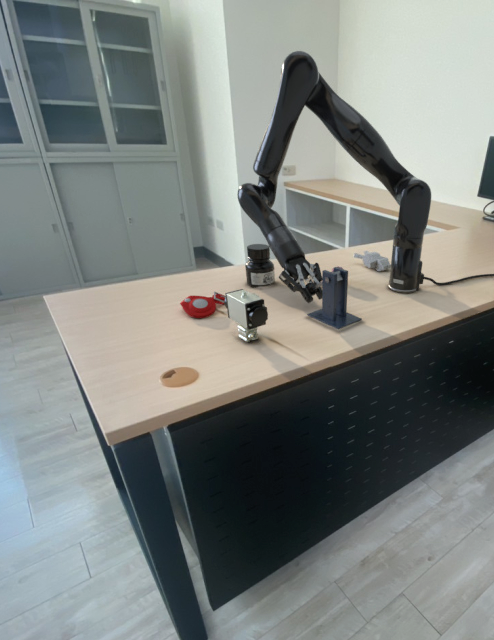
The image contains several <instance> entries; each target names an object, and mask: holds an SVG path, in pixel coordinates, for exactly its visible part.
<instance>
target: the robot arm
mask: <svg viewBox="0 0 494 640" xmlns="http://www.w3.org/2000/svg"><path fill="white" fill-rule="evenodd" d="M279 80H280V81H279V85H278V92H277V97H276V101H275V104H274V108H273V111H272V113H271V116H270V118H269V121H268V124H267V126H266V128H265V131H264V134H263V137H262V139H261V142H260V144H259V147H258V150H257V153H256V156H255V158H254V161H253V166H252V169H253V172H254V173H255V174H256V175H257V176H258V183H257V184H256V183H251V182H245V183H242V184H241V185H240V186H239V188H238V190H237V201H238V204H239V205H240V208H241V209H242V210H243V212H244V213H245V214H246V215H247V216H248V218H249V219H250V220H251V222H253V223H254V224H255V225H256V226H257V227H258V228H259V230H260V232H261V234H262V235H263V237H264V239H265V240H266V242H267V245H268V246H269V248H270V251H271V252H272V254H273V256H274V258H275V259H276V260H277V262H278V264H279V266H280V267H281V268H282V269H283V270H282V271H281V272H280V274H279V275H278V279H279V280H280V281H281V282H282V283H283V284H284V285H285V286H286V287H287V288H288V289H289V290H291V292H292V293H295V292H298V293H300V295H301V296H302V298H303V299H304V301H305V302H307V304H310V303H312V302H313V301H314V297H313V296H312V295H311V294H310V292H309V290H308V289H307V288H305V287H306V286H305V285H306V284H308V283H314V284H315V285H316V284H318V283H320V282H322V271H321V267H320V264H319V263H318V262H315V263H310V261H309V260H308V259H306V254H305V252H304V250H303V248H302V247H301V244H300V243H299V242H298V240H297V239H296V236H295V235H294V234H293V232H292V231H291V230H290V228H289V227H288V225H287V224H286V222H285V220H284V218H283V217H282V216H281V214H280V213H279V212H278V211H277V210H274V208H273V206H274V205H275V202H276V198H277V197H276V196H277V190H278V189H277V188H278V181H279V175H280V173H281V170H282V168H283V164H284V162H285V160H286V157H287V153H288V150H289V147H290V145H291V141H292V138H293V136H294V135H293V134H294V132H295V129H296V126H297V123H298V121H299V118H300V116H301V114H302V112H303V110H304V108H305V107H306V108H307V109H308V110H309V111H311V112H312V113H313V114H314V116H316V117H317V118H318V119H319V120H320V122H321V123H322V124H323V125H324V126H325V127H326V129H327V130H328V131H329V133H330V134H331V135H332V137H333V138H334V139H335V140H336V142H337V143H338V144H339V145H340V146H341V148H343V149H344V151H345V152H346V153H348V155H350V157H351V158H352V159H353V160H354V161H355V162H356V163H358V165H360V166H361V167H362V168H363V169H364V170H365V171H367V172H368V173H369V174H370V175H372V176H373V177H375V178H376V180H378V181H379V182H380V183H381V184H382V186H384V188H385V189H386V190H387V191H388V192H389V194H390V195H391V196H392V198H393V199H394V200H395V202H396V203H397V204H398V206H399V210H398V218H397V222H396V224H395V225H394V229H393V238H392V239H393V240H392V248H391V251H392V252H391V260H390V261H391V262H390V264H391V268H390V269H389V281H388V289H389V290H391V291H392V292H396V293H399V294H400V293H402V294H409V293H414V292H416V291H419V290H420V285H423V284H424V280H426V281H429V282H431V283H433V284H434V285H436V286H448V285H451V284H457V283H460V282H464V281H466V280H472V279H477V278H485V277H494V273H486V274H476V275H471V276H466V277H463V278H459V279H455V280H450V281H445V282H437V281H436V280H434V279H433V278H432V277H428V276H425V274H424V273H423V272H422V269H423V261H422V260H421V258H422V251H423V243H424V236H425V231H426V229H427V226H428V222H429V217H430V210H431V205H432V190H431V187H430V186H429V184H428V183H427V182H426V181H424V180H423V179H420V178H418V177H417V176H414V174H412V173H411V172H410V171H409V170H408V169H406V168H405V166H404V165H402V164H401V163H400V162H399V160H398V159H397V158H396V157H395V155H394V154H393V152H392V151H391V149H390V147H389V145H388V144H387V142H386V141H385V139H384V138H383V136H382V135H381V134H380V133H379V131H378V130H377V129H376V128H375V127H374V126H373V125H372V124H371V123H370V122H369V120H368V119H367V118H366V117H364V115H362V114H361V113H360V112H359V111H358V110H357V109H355V108H354V107H353V106H352V105H351V104H349V103H348V102H347V101H346V100H344V98H342V97H341V96H339V94H338V93H336V92H335V90H334V89H333V88H332V87H331V85H329V83H328V82H327V81H326V79H325V78H324V77H323V76H322V74H321V72H320V71H319V67H318V64H317V63H316V61H315V59H314V57H313V56H312V55H310V53H308V52H306V51H303V50H296V51H292V52H290V53H289V54H287V56H286V57H285V58H284V59H283V62H282V64H281V68H280V79H279ZM305 283H306V284H305ZM315 296H316V297H317V299H318V300H322V286H321V287H319V288H317V293H316V294H315Z"/></svg>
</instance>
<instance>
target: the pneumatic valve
mask: <svg viewBox="0 0 494 640" xmlns="http://www.w3.org/2000/svg"><path fill="white" fill-rule="evenodd" d="M224 294H225V296H226V298H225V301H224V304H223V305H224V307H225V308H226V309H227V316H228V319H230V320H232V321H233V322H235V323H237V324H238V325H237V330H238V338H239V339H241V340H242V341H244V342H246V343H250V341H255V340H258V339H259V333H258V328H259V327H263V326H265V325H267V320H268V319H269V312H268V307H267V306H266V305H265V299H263V298H261V297H260V295H259V294H256V292H252V293H251V292H250V291H248V290H245V289H243V288H241V289H236V290H233V291H228V292H225V293H224Z"/></svg>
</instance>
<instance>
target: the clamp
mask: <svg viewBox="0 0 494 640" xmlns="http://www.w3.org/2000/svg"><path fill="white" fill-rule="evenodd" d="M338 267H339V266H334V267H333V268H334V271H333V272H332V271H330V270H327V269H323V270H322V271H321V275H322V281H321V282H322V286H321V289H322V299H321V301H322V302H321V308H320V309H317V310H314V311H311V312H309V313H307V314H306V316H308V317H310V318H313V319H314V320H317V321H319V322H320V323H324V324H325V325H328V326H330V327H332V328H334V329H336V330H341V329H343V328H346V327H348V326H350V325H353V324H356V323H357V322H360V321H362V319H363V318H361V317H358V316H357V315H355V314H352V313H350V312H347V311H348V285H349V270H346V269H344V268H343V269H341V268H338ZM337 271H340V272H341V275H342V278H343V280H341V281H339V282H337V274H335V273H334V272H337Z"/></svg>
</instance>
